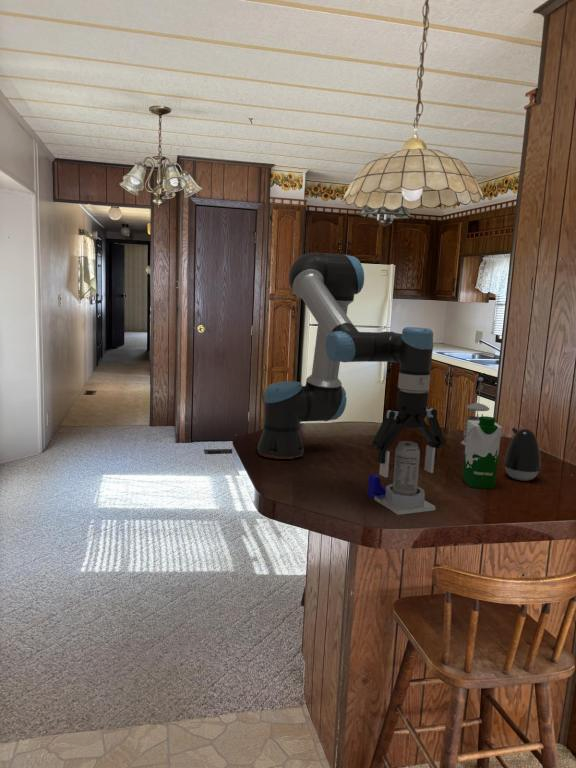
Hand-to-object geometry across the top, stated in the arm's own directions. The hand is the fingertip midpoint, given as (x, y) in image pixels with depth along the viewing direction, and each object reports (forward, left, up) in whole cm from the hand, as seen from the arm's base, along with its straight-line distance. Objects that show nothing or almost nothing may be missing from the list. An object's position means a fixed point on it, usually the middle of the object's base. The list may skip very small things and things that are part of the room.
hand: (406, 473), depth 145 cm
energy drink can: (0, 0, -7) cm, 7 cm away
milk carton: (-8, +31, -8) cm, 33 cm away
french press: (-45, +62, -8) cm, 77 cm away
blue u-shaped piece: (-8, 0, -9) cm, 12 cm away
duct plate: (0, 0, -8) cm, 8 cm away
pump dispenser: (-9, +48, -8) cm, 50 cm away
